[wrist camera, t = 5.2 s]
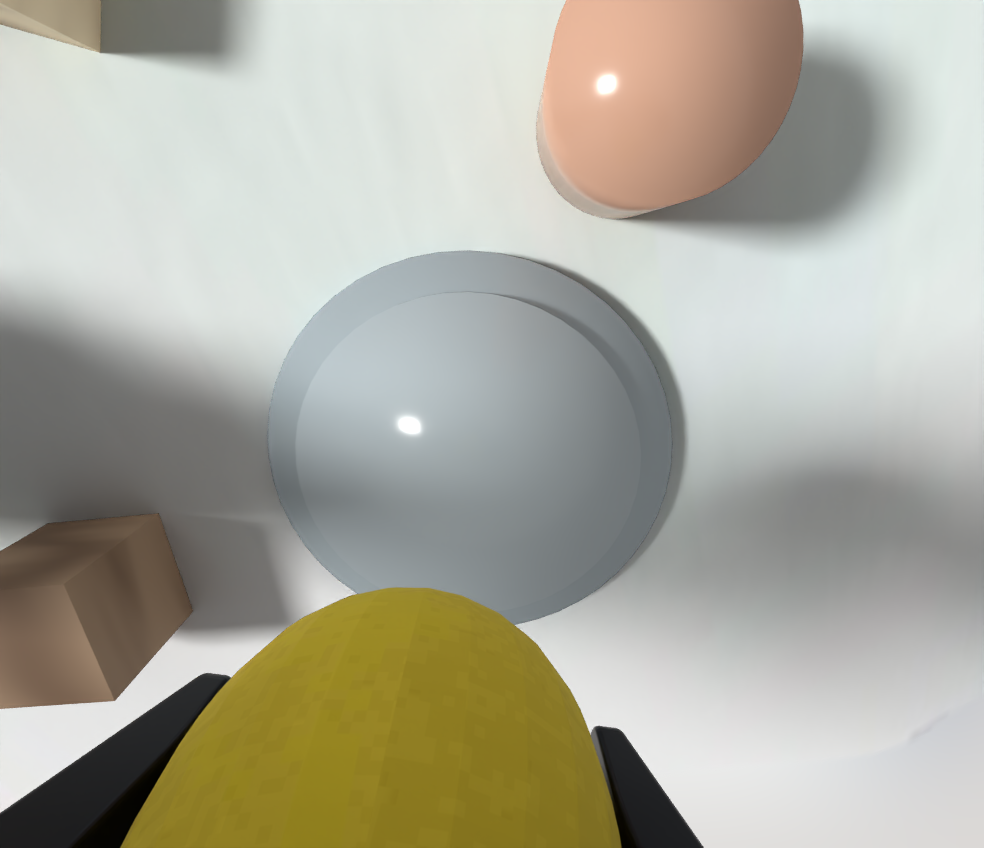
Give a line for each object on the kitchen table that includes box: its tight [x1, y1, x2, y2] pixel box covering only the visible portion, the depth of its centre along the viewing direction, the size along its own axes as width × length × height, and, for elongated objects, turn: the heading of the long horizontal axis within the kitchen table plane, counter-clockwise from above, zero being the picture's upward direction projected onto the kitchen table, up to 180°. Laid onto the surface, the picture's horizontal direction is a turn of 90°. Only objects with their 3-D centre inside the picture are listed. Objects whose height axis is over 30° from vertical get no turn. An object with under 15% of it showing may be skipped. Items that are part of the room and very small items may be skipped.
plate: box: [267, 251, 672, 625], centre depth 18 cm, size 14×14×1 cm
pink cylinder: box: [536, 0, 803, 219], centre depth 13 cm, size 5×5×5 cm
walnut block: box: [0, 513, 193, 709], centre depth 18 cm, size 4×4×4 cm
